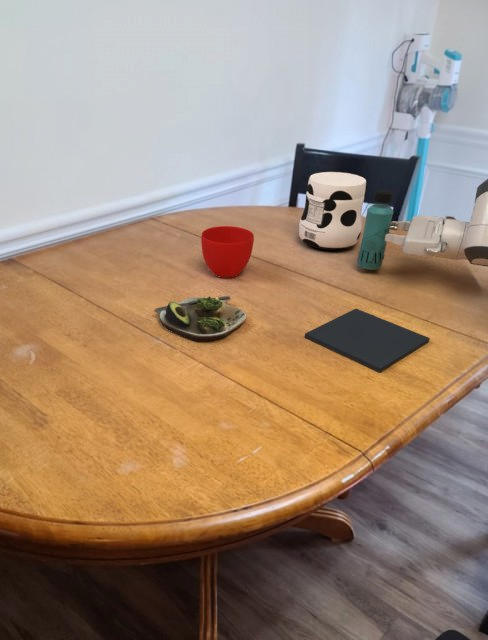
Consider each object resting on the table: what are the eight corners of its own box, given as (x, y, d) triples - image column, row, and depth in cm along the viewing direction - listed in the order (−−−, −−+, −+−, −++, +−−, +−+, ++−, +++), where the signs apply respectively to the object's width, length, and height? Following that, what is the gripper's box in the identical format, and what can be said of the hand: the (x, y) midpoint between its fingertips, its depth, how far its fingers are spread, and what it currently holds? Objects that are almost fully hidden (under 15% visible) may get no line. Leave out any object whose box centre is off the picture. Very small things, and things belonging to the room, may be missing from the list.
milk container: (357, 236, 168) (369, 173, 158) (358, 257, 154) (371, 189, 144) (299, 231, 171) (307, 169, 161) (294, 251, 157) (303, 184, 147)
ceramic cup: (254, 259, 152) (257, 222, 146) (248, 285, 138) (251, 245, 132) (206, 256, 154) (207, 219, 148) (196, 281, 140) (197, 241, 134)
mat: (428, 342, 116) (430, 338, 115) (379, 373, 106) (380, 368, 106) (355, 312, 127) (355, 308, 126) (304, 337, 117) (305, 333, 116)
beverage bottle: (353, 273, 145) (368, 193, 134) (357, 264, 150) (371, 186, 139) (379, 277, 143) (397, 196, 132) (382, 267, 148) (399, 189, 137)
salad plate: (201, 293, 134) (202, 275, 131) (263, 316, 125) (265, 297, 122) (144, 321, 122) (143, 302, 119) (208, 349, 113) (208, 329, 110)
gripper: (441, 266, 129) (379, 257, 133) (446, 239, 144) (390, 231, 149) (449, 239, 125) (385, 230, 130) (453, 214, 141) (395, 207, 145)
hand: (388, 230), depth 139 cm, fingers open, 8 cm apart
